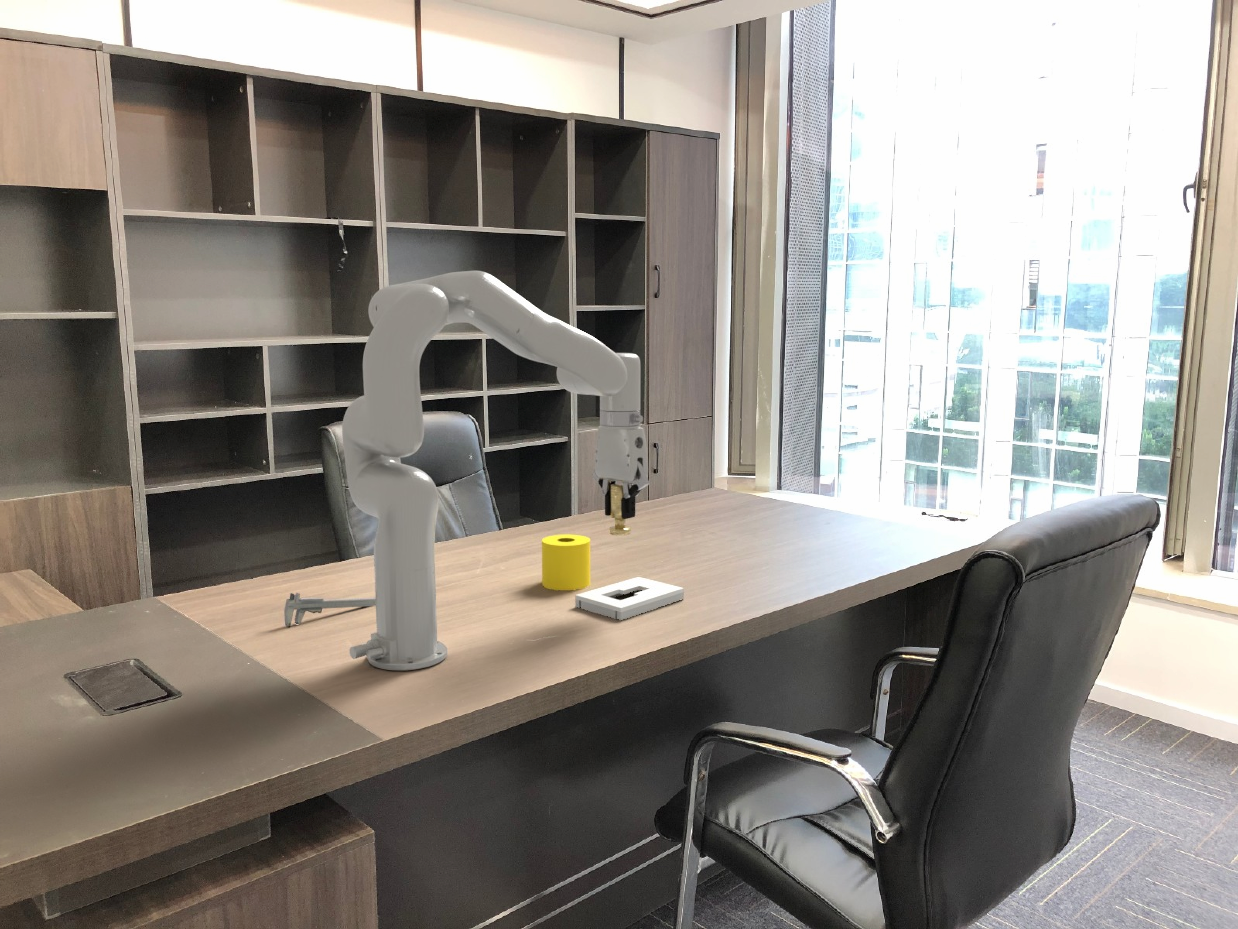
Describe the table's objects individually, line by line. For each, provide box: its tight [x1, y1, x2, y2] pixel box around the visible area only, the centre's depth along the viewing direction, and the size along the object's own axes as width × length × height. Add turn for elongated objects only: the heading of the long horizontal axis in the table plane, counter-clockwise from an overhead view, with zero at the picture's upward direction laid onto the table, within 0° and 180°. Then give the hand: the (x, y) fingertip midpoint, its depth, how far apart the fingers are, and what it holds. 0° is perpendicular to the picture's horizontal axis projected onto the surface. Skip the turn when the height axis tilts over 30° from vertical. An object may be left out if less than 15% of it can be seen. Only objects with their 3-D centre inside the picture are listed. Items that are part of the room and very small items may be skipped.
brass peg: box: [609, 483, 632, 536], centre depth 179 cm, size 4×4×9 cm
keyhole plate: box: [574, 576, 685, 621], centre depth 184 cm, size 18×12×2 cm, turn 137°
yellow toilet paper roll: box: [541, 534, 591, 591], centre depth 197 cm, size 10×10×9 cm
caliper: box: [283, 592, 376, 627], centre depth 177 cm, size 20×1×6 cm, turn 139°
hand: (620, 515), depth 179 cm, fingers closed on brass peg, 3 cm apart
